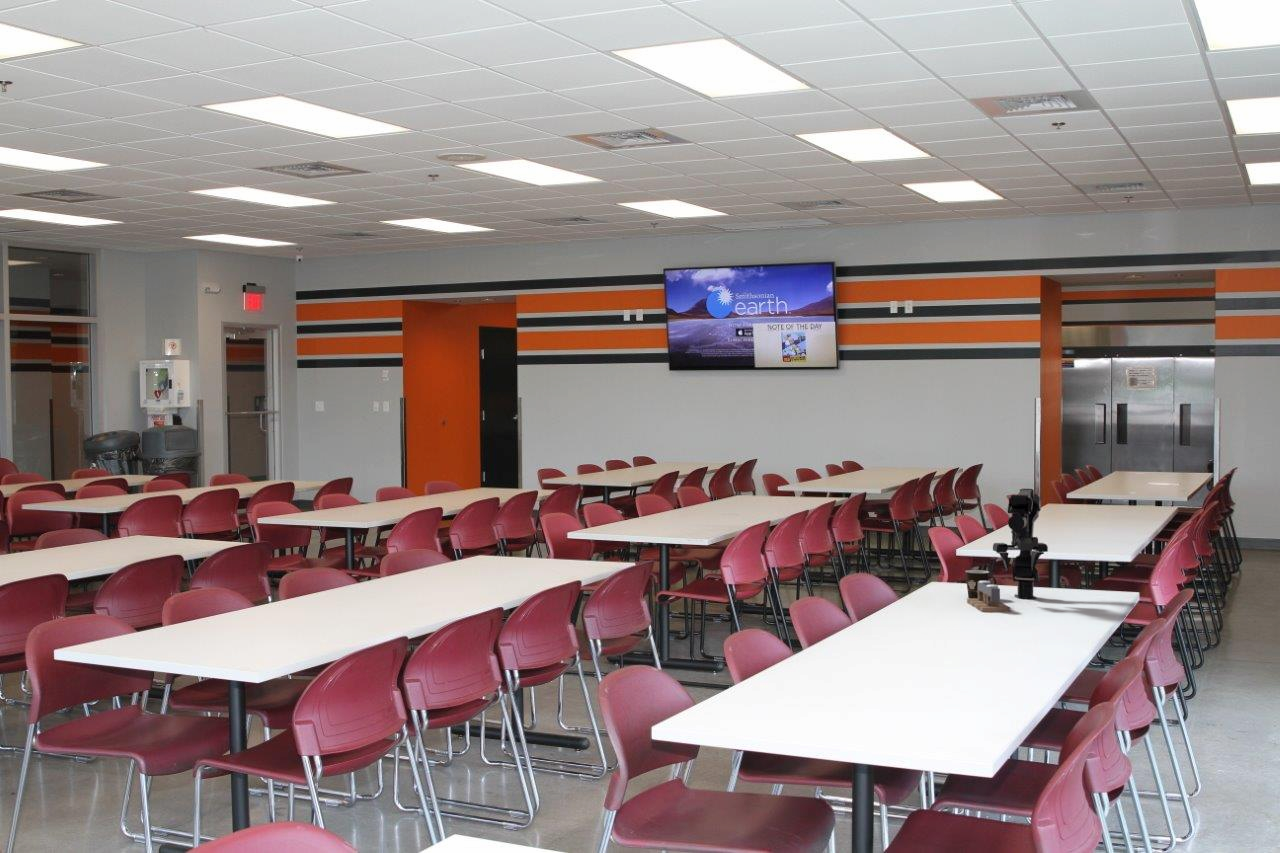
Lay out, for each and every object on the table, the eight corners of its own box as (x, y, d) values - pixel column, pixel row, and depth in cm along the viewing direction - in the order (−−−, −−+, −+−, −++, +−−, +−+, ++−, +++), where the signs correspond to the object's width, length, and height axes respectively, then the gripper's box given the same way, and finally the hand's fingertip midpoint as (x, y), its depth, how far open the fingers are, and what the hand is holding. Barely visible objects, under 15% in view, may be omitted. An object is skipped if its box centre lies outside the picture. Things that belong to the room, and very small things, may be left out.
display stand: (967, 602, 450) (967, 589, 450) (994, 602, 450) (994, 589, 450) (982, 611, 430) (982, 597, 430) (1010, 611, 430) (1010, 597, 430)
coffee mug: (960, 596, 463) (960, 570, 463) (980, 595, 466) (980, 569, 465) (978, 601, 452) (978, 574, 452) (998, 600, 455) (998, 573, 454)
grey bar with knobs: (976, 593, 449) (976, 579, 449) (987, 593, 449) (987, 579, 449) (989, 601, 431) (989, 587, 431) (1001, 601, 431) (1001, 587, 431)
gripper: (1001, 530, 439) (1001, 573, 440) (1052, 530, 439) (1052, 573, 439) (992, 527, 450) (992, 569, 451) (1042, 527, 450) (1042, 569, 451)
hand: (1020, 570), depth 448 cm, fingers open, 9 cm apart
